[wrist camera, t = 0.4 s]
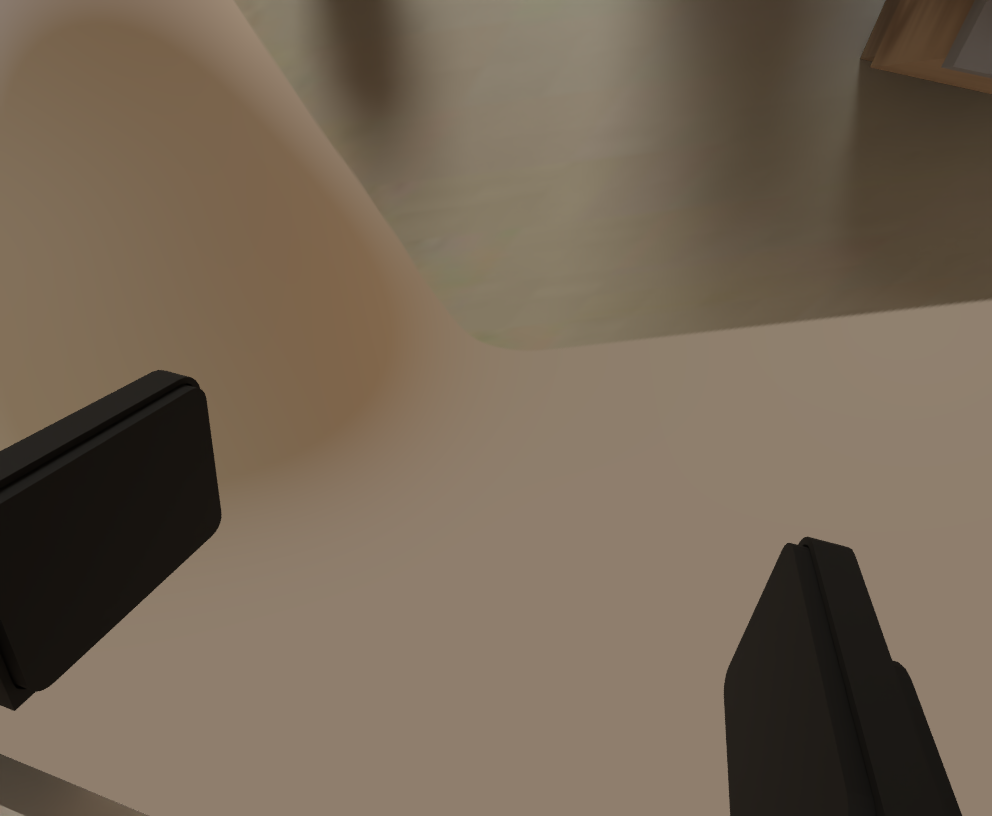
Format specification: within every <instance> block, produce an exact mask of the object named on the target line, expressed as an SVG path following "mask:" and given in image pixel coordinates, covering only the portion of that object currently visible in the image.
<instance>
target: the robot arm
mask: <svg viewBox="0 0 992 816" xmlns="http://www.w3.org/2000/svg"><path fill="white" fill-rule="evenodd" d="M220 521H221V507H220V499H219V492H218V484H217V477H216V469H215V461H214V453H213V446H212V439H211V431H210V423H209V416H208V408H207V401H206V396H205V393H204V392H203V391H202V390H201V389H200V387H199V384H198V383H197V382H196V380H194V379H193V378H191V377H187V376H183V375H179V374H176V373H172V372H168V371H164V370H157V371H154V372H151V373H149V374H148V375H146V376H144V377H142V378H140V379H138V380H136V381H134V382H132V383H130V384H128V385H126V386H124V387H123V388H121V389H119V390H117V391H115V392H113V393H111V394H109V395H107V396H105V397H104V398H101V399H100V400H98V401H96V402H94V403H92V404H90V405H88V406H86V407H84V408H82V409H80V410H78V411H77V412H75V413H73V414H71V415H69V416H67V417H65V418H63V419H61V420H59V421H57V422H55V423H54V424H52V425H50V426H48V427H46V428H44V429H42V430H40V431H38V432H36V433H34V434H33V435H31V436H29V437H27V438H25V439H23V440H21V441H19V442H17V443H15V444H13V445H11V446H10V447H8V448H6V449H4V450H2V451H0V705H1V706H4V707H6V708H9V709H11V710H14V711H15V710H16V709H17V708H18V707H19V706H20V705H21V704H23V703H24V702H25V701H26V700H27V699H28V698H29V697H30V696H31V695H32V694H33V693H35V692H36V691H41V690H44V689H46V688H48V687H49V686H50V685H52V684H53V683H54V682H55V681H56V680H57V679H58V678H59V677H61V676H62V675H63V674H64V673H65V672H66V671H67V670H68V669H69V668H70V667H71V666H72V665H73V664H75V663H76V662H77V661H78V660H79V659H80V658H81V657H82V656H83V655H84V654H85V653H86V652H87V651H88V650H90V648H92V647H93V646H94V645H95V644H96V643H97V642H98V641H99V640H100V639H101V638H103V637H104V636H105V635H106V634H107V633H108V632H109V631H110V630H111V629H112V628H113V627H114V626H115V625H116V624H118V623H119V622H120V621H121V620H122V619H123V618H124V617H125V616H126V615H127V614H128V613H129V612H131V611H132V610H133V609H134V608H135V607H136V606H137V605H138V604H139V603H140V602H141V601H142V600H143V599H144V598H146V597H147V596H148V595H149V594H150V593H151V592H152V591H153V590H154V589H155V588H156V587H157V586H158V585H160V584H161V583H162V582H163V581H164V580H165V579H166V578H167V577H168V576H169V575H170V574H171V573H173V572H174V571H175V570H176V569H177V568H178V567H179V566H180V565H181V564H182V563H183V562H184V561H185V560H186V559H188V558H189V557H190V556H191V555H192V554H193V553H194V552H195V551H196V550H197V549H198V548H199V547H200V546H201V545H203V544H204V543H205V542H206V541H207V540H208V539H209V538H210V537H211V536H212V535H213V534H214V533H215V532H216V530H217V528H218V527H219V524H220ZM724 706H725V725H726V743H727V762H728V780H729V799H730V816H962V814H961V811H960V809H959V806H958V803H957V801H956V798H955V795H954V793H953V790H952V788H951V785H950V782H949V779H948V777H947V774H946V771H945V768H944V766H943V763H942V761H941V758H940V756H939V753H938V750H937V747H936V744H935V742H934V739H933V736H932V734H931V731H930V728H929V726H928V723H927V720H926V718H925V715H924V712H923V710H922V707H921V704H920V702H919V699H918V696H917V694H916V691H915V688H914V686H913V683H912V680H911V678H910V676H909V674H908V673H907V671H906V669H905V668H904V667H903V666H902V665H901V664H900V663H898V662H896V661H892V659H891V656H890V653H889V651H888V647H887V645H886V642H885V639H884V636H883V633H882V630H881V628H880V625H879V622H878V619H877V616H876V613H875V611H874V608H873V605H872V602H871V599H870V596H869V594H868V591H867V588H866V585H865V582H864V580H863V576H862V574H861V571H860V568H859V565H858V562H857V559H856V557H855V554H854V552H853V550H852V549H850V548H849V547H845V546H841V545H838V544H834V543H830V542H826V541H822V540H818V539H814V538H810V537H805V538H803V539H802V540H801V541H800V543H799V544H798V545H796V544H792V543H787V544H786V545H785V546H784V548H783V549H782V551H781V554H780V556H779V558H778V560H777V562H776V565H775V567H774V569H773V571H772V573H771V575H770V578H769V580H768V582H767V584H766V587H765V589H764V591H763V593H762V595H761V597H760V599H759V602H758V604H757V606H756V608H755V610H754V613H753V615H752V617H751V619H750V621H749V624H748V626H747V628H746V630H745V632H744V634H743V637H742V639H741V641H740V643H739V645H738V648H737V650H736V652H735V654H734V656H733V658H732V661H731V663H730V665H729V668H728V670H727V673H726V678H725V683H724ZM0 816H148V815H146V814H144V813H141V812H139V811H136V810H134V809H131V808H129V807H127V806H124V805H122V804H120V803H117V802H115V801H112V800H110V799H108V798H105V797H102V796H100V795H98V794H96V793H93V792H91V791H88V790H86V789H84V788H81V787H79V786H76V785H74V784H71V783H69V782H67V781H65V780H62V779H60V778H57V777H55V776H52V775H50V774H48V773H45V772H43V771H40V770H38V769H35V768H33V767H31V766H28V765H26V764H23V763H21V762H18V761H16V760H14V759H11V758H9V757H6V756H4V755H1V754H0Z"/></svg>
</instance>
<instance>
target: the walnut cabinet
mask: <svg viewBox="0 0 992 816" xmlns="http://www.w3.org/2000/svg"><path fill="white" fill-rule="evenodd" d="M860 59H863V60H868V61H872V64H871V66H870V67H871V68H876V69H880V70H885V71H889V72H894V73H898V74H903V75H907V76H912V77H916V78H921V79H925V80H930V81H934V82H939V83H943V84H948V85H953V86H957V87H962V88H966V89H971V90H975V91H980V92H984V93H989V94H992V0H886V1H885V3H884V6H883V8H882V10H881V13H880V15H879V17H878V19H877V22H876V24H875V26H874V28H873V31H872V33H871V35H870V37H869V40H868V42H867V44H866V47H865V49H864V51H863V53H862V56H861V58H860Z"/></svg>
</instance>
